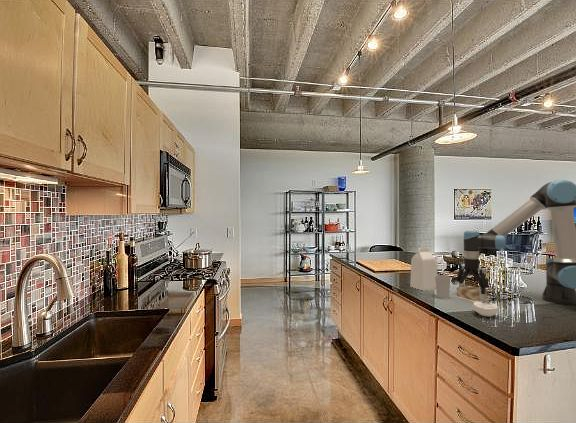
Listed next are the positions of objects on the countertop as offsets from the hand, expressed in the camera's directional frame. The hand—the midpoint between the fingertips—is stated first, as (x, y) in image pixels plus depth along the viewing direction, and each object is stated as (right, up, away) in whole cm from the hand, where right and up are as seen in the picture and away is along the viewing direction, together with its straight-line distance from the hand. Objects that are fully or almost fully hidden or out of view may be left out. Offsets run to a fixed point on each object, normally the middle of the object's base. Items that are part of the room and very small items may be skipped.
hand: (471, 297), depth 174 cm
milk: (-17, -1, +24) cm, 29 cm away
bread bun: (0, 0, 0) cm, 0 cm away
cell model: (-11, -1, -29) cm, 30 cm away
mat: (0, -1, 0) cm, 1 cm away
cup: (-16, -1, +2) cm, 16 cm away
